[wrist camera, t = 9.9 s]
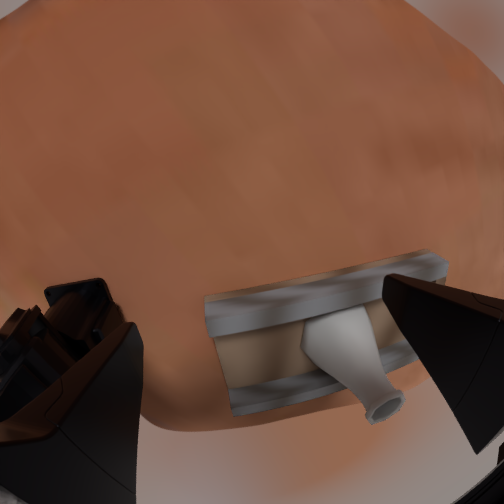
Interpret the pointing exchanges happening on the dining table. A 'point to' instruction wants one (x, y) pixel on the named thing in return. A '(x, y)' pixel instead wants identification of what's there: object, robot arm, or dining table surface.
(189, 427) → the dining table surface
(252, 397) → the grey rectangular tray
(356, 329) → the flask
